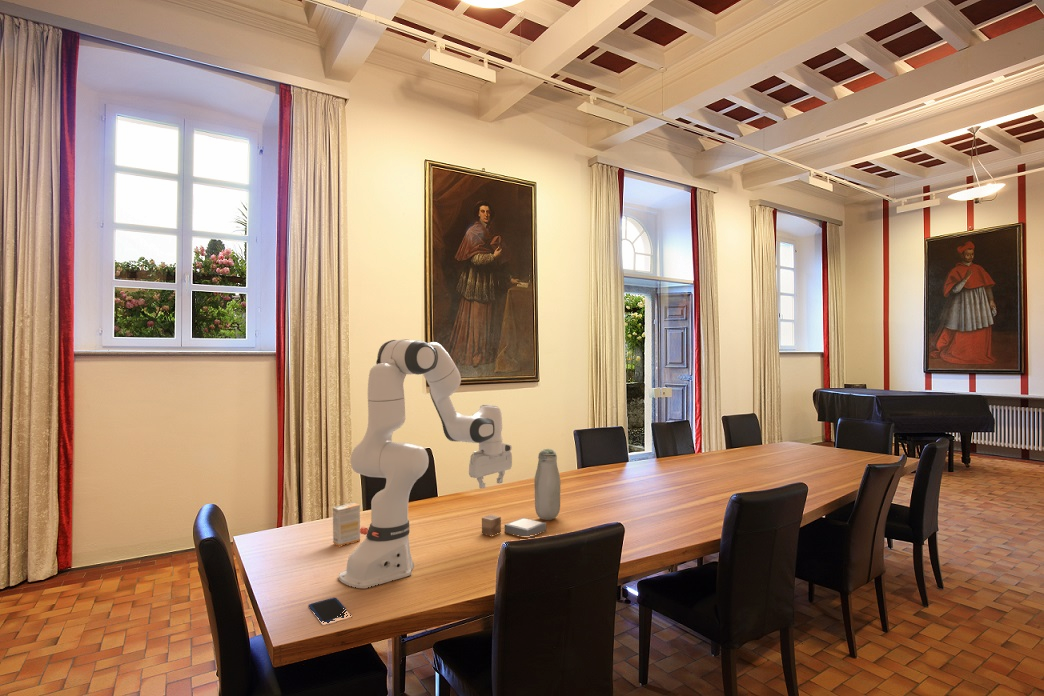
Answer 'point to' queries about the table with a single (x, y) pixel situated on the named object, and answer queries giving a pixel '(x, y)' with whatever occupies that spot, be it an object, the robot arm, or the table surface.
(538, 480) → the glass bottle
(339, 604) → the cell phone
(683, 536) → the table surface
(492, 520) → the walnut block
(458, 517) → the table surface
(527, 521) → the base block
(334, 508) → the supplement box
